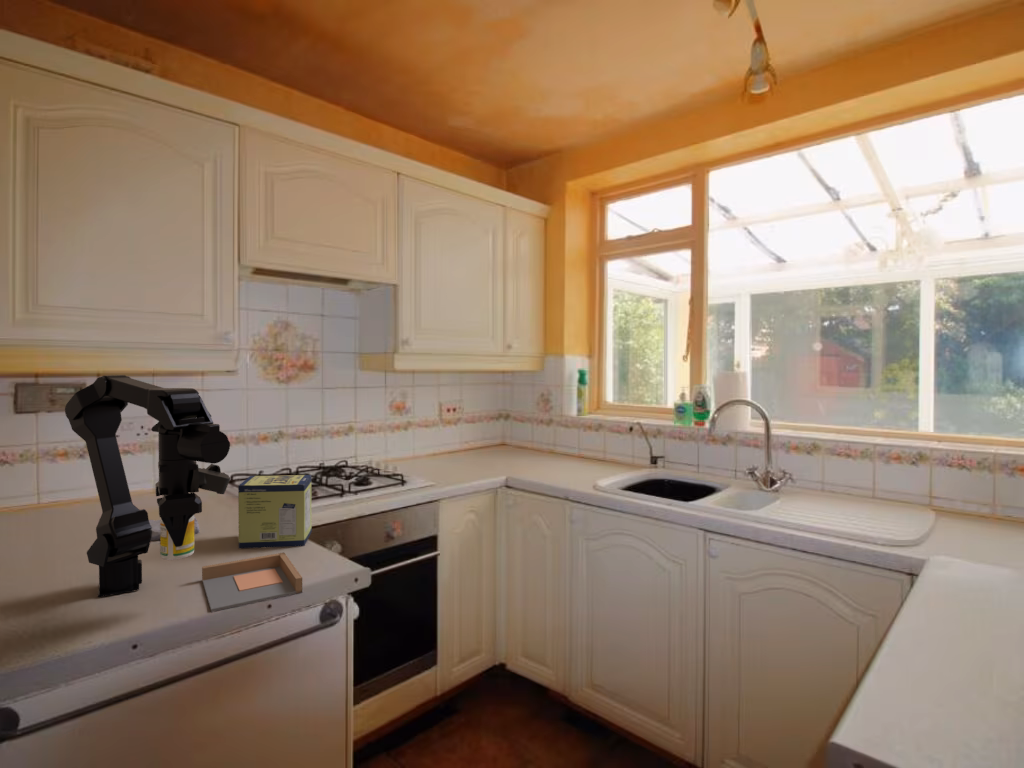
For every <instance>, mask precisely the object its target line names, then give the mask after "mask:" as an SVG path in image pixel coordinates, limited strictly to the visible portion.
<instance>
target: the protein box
mask: <svg viewBox="0 0 1024 768" xmlns="http://www.w3.org/2000/svg"><path fill="white" fill-rule="evenodd" d="M237 487H238V491H237V492H238V501H237V502H238V549H260V548H261V547H266V548H287V547H304V546H306V544H307V542H308V540H309V538H310V536H311V535H312V533H313V529H312V526H313V525H312V475H311V474H297V475H296V474H294V475H292V474H291V475H250V476H248V477H247V478H246V479H245V480H243V481H242V482H241V483H240V484H238V486H237ZM261 549H262V548H261Z"/></svg>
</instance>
